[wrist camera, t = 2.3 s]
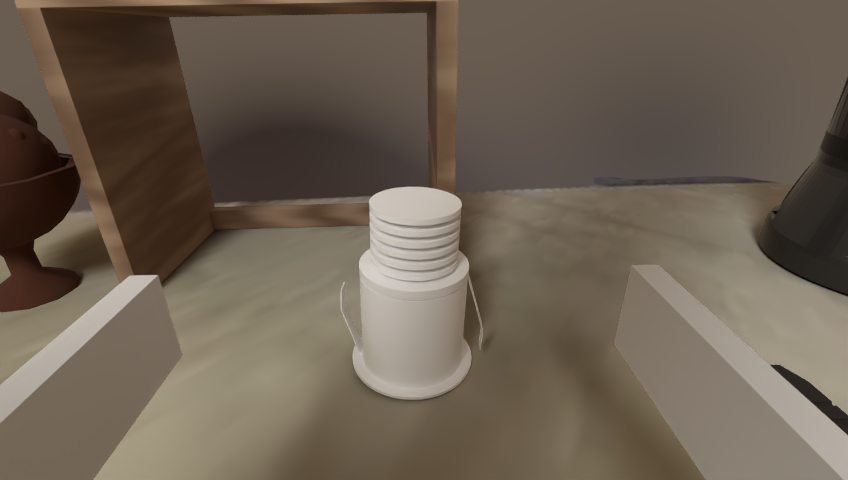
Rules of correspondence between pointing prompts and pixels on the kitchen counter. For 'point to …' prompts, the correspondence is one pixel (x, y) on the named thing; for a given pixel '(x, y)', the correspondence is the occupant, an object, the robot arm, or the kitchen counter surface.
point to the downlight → (412, 296)
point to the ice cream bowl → (31, 207)
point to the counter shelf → (187, 118)
